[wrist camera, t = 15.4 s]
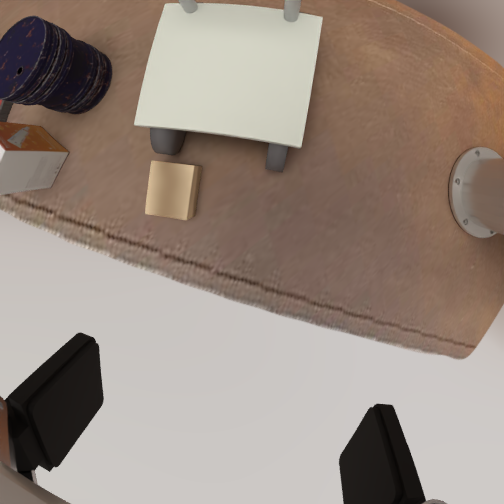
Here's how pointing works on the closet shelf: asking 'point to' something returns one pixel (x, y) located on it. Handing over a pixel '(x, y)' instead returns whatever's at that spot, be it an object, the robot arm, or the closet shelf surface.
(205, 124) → the trolley
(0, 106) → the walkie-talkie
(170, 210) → the block
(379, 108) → the closet shelf surface
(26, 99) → the dark blue cylinder
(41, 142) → the small box
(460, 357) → the closet shelf surface
